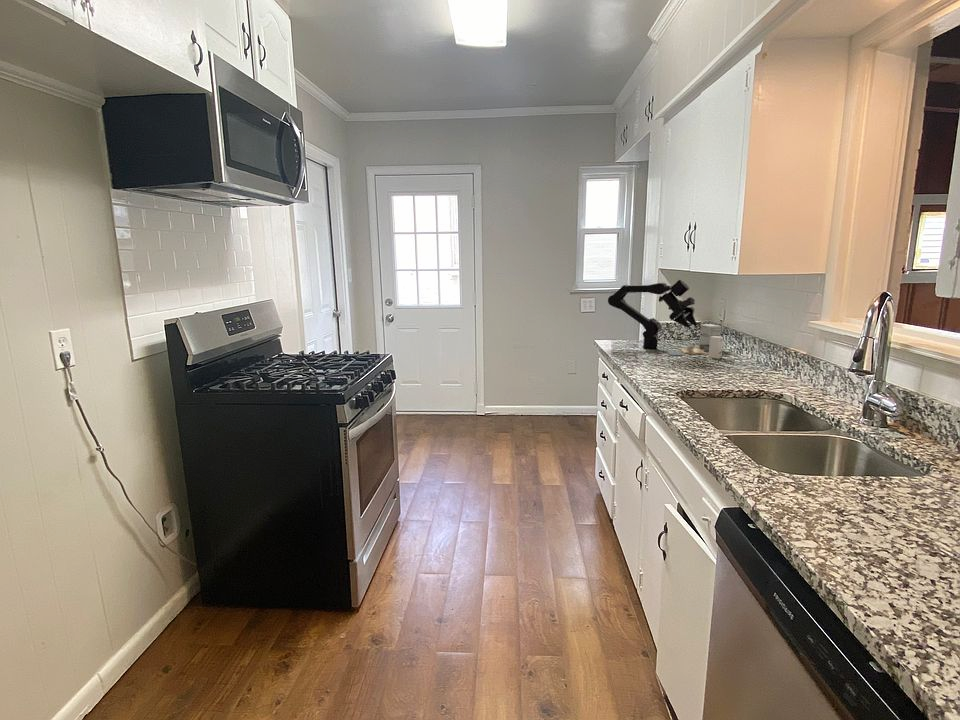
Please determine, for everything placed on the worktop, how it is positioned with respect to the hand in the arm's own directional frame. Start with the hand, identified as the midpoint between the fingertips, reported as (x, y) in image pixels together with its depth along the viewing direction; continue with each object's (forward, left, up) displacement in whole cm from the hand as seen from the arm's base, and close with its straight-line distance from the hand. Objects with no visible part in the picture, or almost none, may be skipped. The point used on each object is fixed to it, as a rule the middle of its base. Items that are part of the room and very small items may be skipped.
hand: (692, 326), depth 261 cm
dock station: (+6, +4, -14) cm, 15 cm away
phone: (-8, -3, -14) cm, 17 cm away
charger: (+10, -8, -14) cm, 19 cm away
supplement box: (+13, +16, -14) cm, 24 cm away
